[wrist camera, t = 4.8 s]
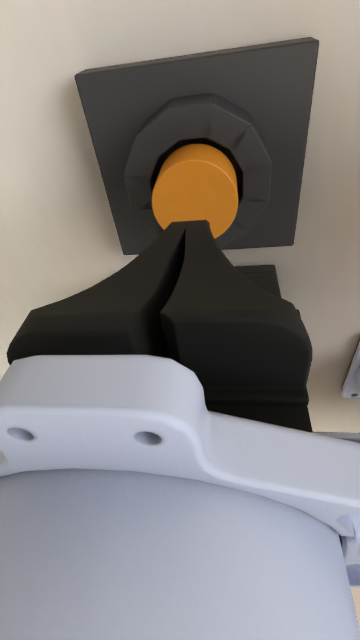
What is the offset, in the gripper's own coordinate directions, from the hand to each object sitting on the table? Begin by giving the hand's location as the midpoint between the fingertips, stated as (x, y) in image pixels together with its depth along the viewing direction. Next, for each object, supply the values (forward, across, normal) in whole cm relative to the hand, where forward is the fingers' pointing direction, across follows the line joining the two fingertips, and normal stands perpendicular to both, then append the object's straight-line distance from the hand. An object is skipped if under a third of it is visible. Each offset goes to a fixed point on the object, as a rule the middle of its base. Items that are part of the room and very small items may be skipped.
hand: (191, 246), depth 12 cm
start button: (+5, 0, 0) cm, 5 cm away
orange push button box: (+8, 0, 0) cm, 8 cm away
